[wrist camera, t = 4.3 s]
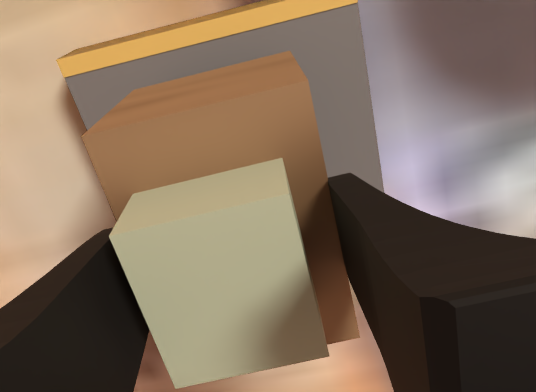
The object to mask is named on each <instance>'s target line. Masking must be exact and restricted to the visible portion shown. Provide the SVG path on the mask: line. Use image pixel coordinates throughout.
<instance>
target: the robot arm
mask: <svg viewBox="0 0 536 392" xmlns="http://www.w3.org/2000/svg"><path fill="white" fill-rule="evenodd" d="M328 186H329V191H330V196H331V201H332V206H333V210H334V215H335V220H336V225H337V230H338V235H339V240H340V245H341V250H342V255H343V260H344V265H345V268H346V271H347V275H348V278H349V281H350V283H351V285H352V288H353V290H354V292H355V295H356V297H357V299H358V301H359V304H360V306H361V308H362V311H363V313H364V315H365V317H366V320H367V322H368V324H369V327H370V329H371V331H372V333H373V336H374V338H375V340H376V342H377V345H378V347H379V349H380V352H381V354H382V357H383V360H384V362H385V365H386V368H387V371H388V374H389V377H390V380H391V383H392V387H393V390H394V392H536V239H534V238H526V237H518V236H512V235H506V234H500V233H495V232H490V231H486V230H482V229H477V228H473V227H468V226H465V225H461V224H457V223H454V222H451V221H448V220H445V219H442V218H439V217H436V216H433V215H430V214H428V213H425V212H423V211H420V210H418V209H416V208H413V207H411V206H409V205H407V204H405V203H402V202H400V201H398V200H396V199H394V198H392V197H391V196H389V195H387V194H385V193H383V192H382V191H380V190H378V189H376V188H375V187H373V186H371V185H370V184H368V183H366V182H365V181H363V180H362V179H360V178H359V177H357V176H355V175H354V174H352V173H346V174H341V175H337V176H333V177H329V178H328ZM112 230H113V228H110V229H105V230H103V231H101V232H99V233H97V234H96V235H94V236H93V237H92V238H90V239H89V240H88V241H86V242H85V243H84V244H82V245H81V246H80V247H79V248H77V249H76V250H75V251H74V252H73V253H71V254H70V255H69V256H68V257H66V258H65V259H64V260H63V261H62V262H60V263H59V264H58V265H57V266H55V267H54V268H53V269H52V270H51V271H49V272H48V273H47V274H46V275H44V276H43V277H42V278H40V279H39V280H38V281H37V282H35V283H34V284H33V285H31V286H30V287H29V288H27V289H26V290H25V291H24V292H22V293H21V294H20V295H18V296H17V297H16V298H14V299H13V300H12V301H10V302H9V303H8V304H6V305H5V306H3V307H2V308H1V309H0V392H133V391H134V387H135V383H136V379H137V375H138V372H139V368H140V364H141V360H142V356H143V352H144V349H145V345H146V341H147V337H148V333H149V327H148V325H147V323H146V320H145V318H144V316H143V313H142V311H141V309H140V307H139V304H138V302H137V300H136V297H135V295H134V293H133V291H132V288H131V286H130V284H129V281H128V279H127V277H126V275H125V272H124V270H123V268H122V265H121V263H120V261H119V258H118V256H117V254H116V252H115V249H114V247H113V245H112V242H111V240H110V238H109V235H110V233H111V231H112Z"/></svg>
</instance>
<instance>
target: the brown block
mask: <svg viewBox="0 0 536 392" xmlns="http://www.w3.org/2000/svg"><path fill="white" fill-rule="evenodd" d="M81 137H82V140H83V142H84V144H85V147H86V149H87V152H88V154H89V156H90V159H91V161H92V164H93V166H94V168H95V171H96V173H97V176H98V178H99V180H100V183H101V185H102V188H103V190H104V192H105V195H106V197H107V200H108V202H109V204H110V207H111V209H112V212H113V214H114V216H115V219H116V221H118V219H119V217H120V216H121V214H122V212H123V210H124V208H125V207H126V205H127V203H128V201H129V200H130V198H131V196H132V194H134V193H139V192H143V191H147V190H151V189H155V188H159V187H163V186H167V185H171V184H176V183H180V182H184V181H188V180H192V179H196V178H200V177H204V176H209V175H213V174H217V173H221V172H225V171H229V170H233V169H237V168H242V167H246V166H250V165H254V164H258V163H262V162H266V161H270V160H275V159H279V158H283V162H284V166H285V170H286V174H287V178H288V183H289V187H290V191H291V195H292V199H293V203H294V207H295V211H296V215H297V219H298V223H299V227H300V231H301V235H302V240H303V244H304V248H305V252H306V256H307V260H308V264H309V268H310V272H311V276H312V280H313V284H314V288H315V292H316V297H317V301H318V305H319V310H320V315H321V319H322V324H323V329H324V333H325V338H326V343H327V344H332V343H336V342H341V341H346V340H351V339H356V338H360V335H359V330H358V325H357V320H356V315H355V310H354V305H353V300H352V295H351V290H350V285H349V280H348V276H347V271H346V268H345V265H344V260H343V255H342V250H341V245H340V240H339V235H338V230H337V225H336V220H335V215H334V210H333V206H332V201H331V196H330V191H329V186H328V176H327V171H326V166H325V161H324V157H323V152H322V147H321V142H320V137H319V132H318V127H317V122H316V117H315V112H314V107H313V102H312V97H311V92H310V87H309V82H308V79H307V78H306V76H305V74H304V73H303V71H302V69H301V68H300V66H299V64H298V63H297V61H296V60H295V58H294V56H293V55H292V53H291V51H286V52H282V53H278V54H274V55H270V56H266V57H262V58H258V59H254V60H250V61H246V62H242V63H238V64H234V65H230V66H226V67H222V68H218V69H214V70H210V71H206V72H202V73H198V74H195V75H191V76H187V77H183V78H179V79H175V80H171V81H167V82H163V83H159V84H155V85H151V86H147V87H143V88H139V89H135V90H133V91H132V92H131V93H129V94H128V95H127V96H126V97H125V98H124V99H123V100H121V101H120V102H119V103H118V104H117V105H116V106H115V107H114V108H112V109H111V110H110V111H109V112H108V113H107V114H106V115H105V116H103V117H102V118H101V119H100V120H99V121H98V122H97V123H96V124H94V125H93V126H92V127H91V128H90V129H89V130H88V131H87V132H85V133H84V134H83V135H82V136H81Z"/></svg>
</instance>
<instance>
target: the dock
mask: <svg viewBox="0 0 536 392" xmlns="http://www.w3.org/2000/svg"><path fill="white" fill-rule="evenodd" d="M286 51H291V53H292V55H293V56H294V58H295V60H296V61H297V63H298V64H299V66H300V68H301V69H302V71H303V73H304V74H305V76H306V78H307V79H308V82H309V87H310V92H311V97H312V102H313V107H314V112H315V117H316V122H317V127H318V132H319V137H320V142H321V147H322V152H323V157H324V161H325V166H326V171H327V176H328V178H329V177H333V176H337V175H341V174H346V173H352V174H354V175H355V176H357V177H359V178H360V179H362V180H363V181H365V182H366V183H368V184H370V185H371V186H373V187H375V188H376V189H378V190H380V191H382V192H383V193H384V188H383V180H382V173H381V166H380V159H379V152H378V145H377V138H376V130H375V123H374V116H373V109H372V102H371V95H370V88H369V80H368V73H367V66H366V59H365V52H364V45H363V38H362V30H361V23H360V16H359V9H358V0H264V1H260V2H256V3H252V4H248V5H245V6H241V7H237V8H233V9H229V10H225V11H221V12H218V13H214V14H210V15H206V16H202V17H198V18H195V19H191V20H187V21H183V22H179V23H175V24H171V25H168V26H164V27H160V28H156V29H152V30H148V31H144V32H141V33H137V34H133V35H129V36H125V37H121V38H118V39H114V40H110V41H106V42H102V43H98V44H94V45H91V46H87V47H83V48H79V49H76V50H74V51H72V52H70V53H68V54H66V55H64V56H62V57H61V58H59V59H57V60H56V61H57V63H58V65H59V68H60V70H61V72H62V74H63V77H64V78H65V80H66V83H67V85H68V87H69V89H70V92H71V94H72V96H73V99H74V101H75V103H76V106H77V108H78V110H79V113H80V115H81V117H82V120H83V122H84V124H85V127H86V129H87V131H88V130H89V129H90V128H91V127H92V126H93V125H94V124H96V123H97V122H98V121H99V120H100V119H101V118H102V117H103V116H105V115H106V114H107V113H108V112H109V111H110V110H111V109H112V108H114V107H115V106H116V105H117V104H118V103H119V102H120V101H121V100H123V99H124V98H125V97H126V96H127V95H128V94H129V93H131V92H132V91H133V90H135V89H139V88H143V87H147V86H151V85H155V84H159V83H163V82H167V81H171V80H175V79H179V78H183V77H187V76H191V75H195V74H198V73H202V72H206V71H210V70H214V69H218V68H222V67H226V66H230V65H234V64H238V63H242V62H246V61H250V60H254V59H258V58H262V57H266V56H270V55H274V54H278V53H282V52H286Z"/></svg>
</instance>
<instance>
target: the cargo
mask: <svg viewBox="0 0 536 392" xmlns="http://www.w3.org/2000/svg"><path fill="white" fill-rule="evenodd" d="M109 238H110V240H111V242H112V245H113V247H114V249H115V252H116V254H117V256H118V258H119V261H120V263H121V265H122V268H123V270H124V272H125V275H126V277H127V279H128V281H129V284H130V286H131V288H132V291H133V293H134V295H135V297H136V300H137V302H138V304H139V307H140V309H141V311H142V313H143V316H144V318H145V320H146V323H147V325H148V327H149V329H150V332H151V334H152V336H153V339H154V341H155V343H156V345H157V348H158V350H159V352H160V355H161V357H162V359H163V361H164V364H165V366H166V368H167V371H168V373H169V375H170V378H171V380H172V382H173V384H174V387H175V389H178V388H183V387H187V386H192V385H197V384H201V383H206V382H211V381H216V380H220V379H225V378H230V377H234V376H239V375H244V374H249V373H253V372H258V371H263V370H267V369H272V368H277V367H281V366H286V365H291V364H296V363H300V362H305V361H310V360H314V359H319V358H324V357H329V352H328V348H327V343H326V338H325V333H324V329H323V324H322V319H321V315H320V310H319V305H318V301H317V297H316V292H315V288H314V284H313V280H312V276H311V272H310V268H309V264H308V260H307V256H306V252H305V248H304V244H303V240H302V235H301V231H300V227H299V223H298V219H297V215H296V211H295V207H294V203H293V199H292V195H291V191H290V187H289V183H288V178H287V174H286V170H285V166H284V162H283V158H279V159H275V160H270V161H266V162H262V163H258V164H254V165H250V166H246V167H242V168H237V169H233V170H229V171H225V172H221V173H217V174H213V175H209V176H204V177H200V178H196V179H192V180H188V181H184V182H180V183H176V184H171V185H167V186H163V187H159V188H155V189H151V190H147V191H143V192H139V193H134V194H132V196H131V198H130V200H129V201H128V203H127V205H126V207H125V208H124V210H123V212H122V214H121V216H120V217H119V219H118V221H117V223H116V224H115V226H114V228H113V230H112V231H111V233H110V235H109Z"/></svg>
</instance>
